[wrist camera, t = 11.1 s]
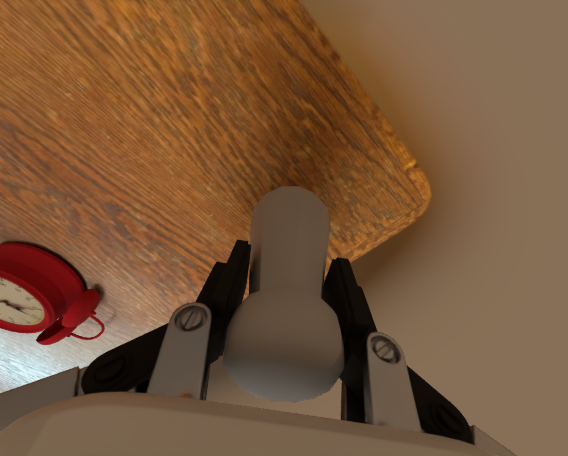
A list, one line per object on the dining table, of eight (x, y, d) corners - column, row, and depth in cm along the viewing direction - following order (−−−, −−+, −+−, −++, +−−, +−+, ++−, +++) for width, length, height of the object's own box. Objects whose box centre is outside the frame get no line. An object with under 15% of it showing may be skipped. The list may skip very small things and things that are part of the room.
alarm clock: (-51, 233, 19) (76, 354, 21) (37, 215, 25) (131, 311, 27) (-80, 288, 22) (33, 388, 24) (5, 261, 28) (90, 343, 30)
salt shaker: (315, 245, 20) (339, 433, 9) (252, 233, 20) (191, 411, 8) (335, 184, 17) (412, 345, 6) (262, 169, 17) (188, 306, 5)
